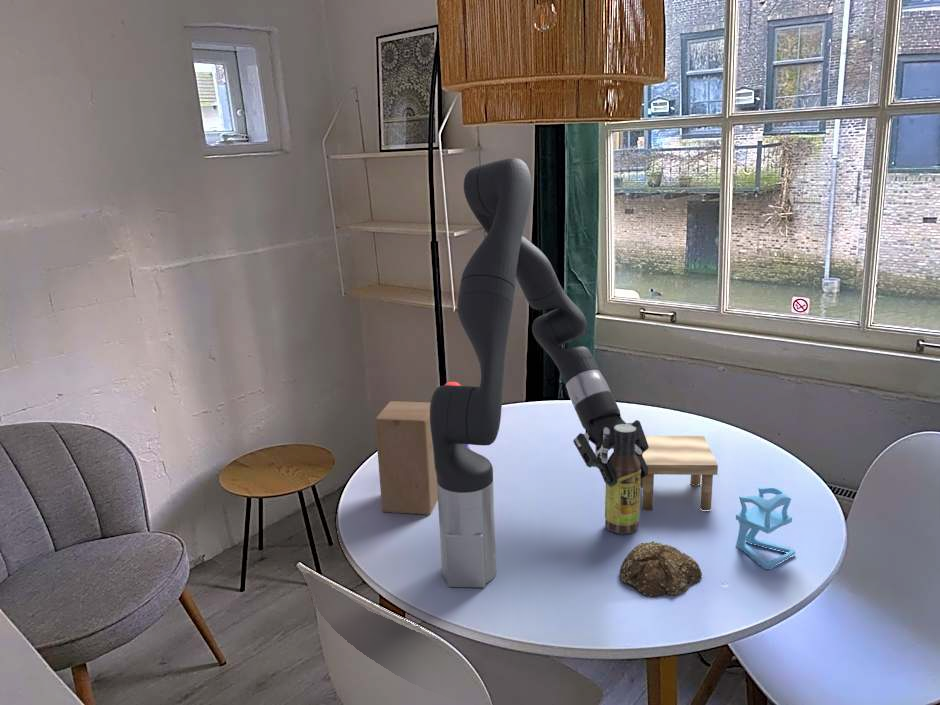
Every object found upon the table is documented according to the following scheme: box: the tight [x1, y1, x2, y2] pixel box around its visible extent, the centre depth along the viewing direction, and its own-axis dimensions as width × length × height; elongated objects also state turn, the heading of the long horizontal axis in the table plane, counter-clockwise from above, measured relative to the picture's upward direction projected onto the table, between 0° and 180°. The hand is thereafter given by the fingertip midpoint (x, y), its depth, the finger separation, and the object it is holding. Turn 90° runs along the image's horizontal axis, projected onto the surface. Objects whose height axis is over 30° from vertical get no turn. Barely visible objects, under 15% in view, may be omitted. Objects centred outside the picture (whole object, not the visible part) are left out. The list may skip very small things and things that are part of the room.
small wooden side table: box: [640, 435, 719, 512], centre depth 155 cm, size 14×14×10 cm
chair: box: [735, 486, 796, 570], centre depth 133 cm, size 8×8×12 cm
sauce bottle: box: [604, 424, 641, 535], centre depth 142 cm, size 6×6×20 cm
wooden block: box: [374, 400, 438, 516], centre depth 155 cm, size 10×10×20 cm
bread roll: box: [619, 540, 703, 598], centre depth 129 cm, size 13×12×5 cm
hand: (629, 480), depth 140 cm, fingers closed on sauce bottle, 6 cm apart
